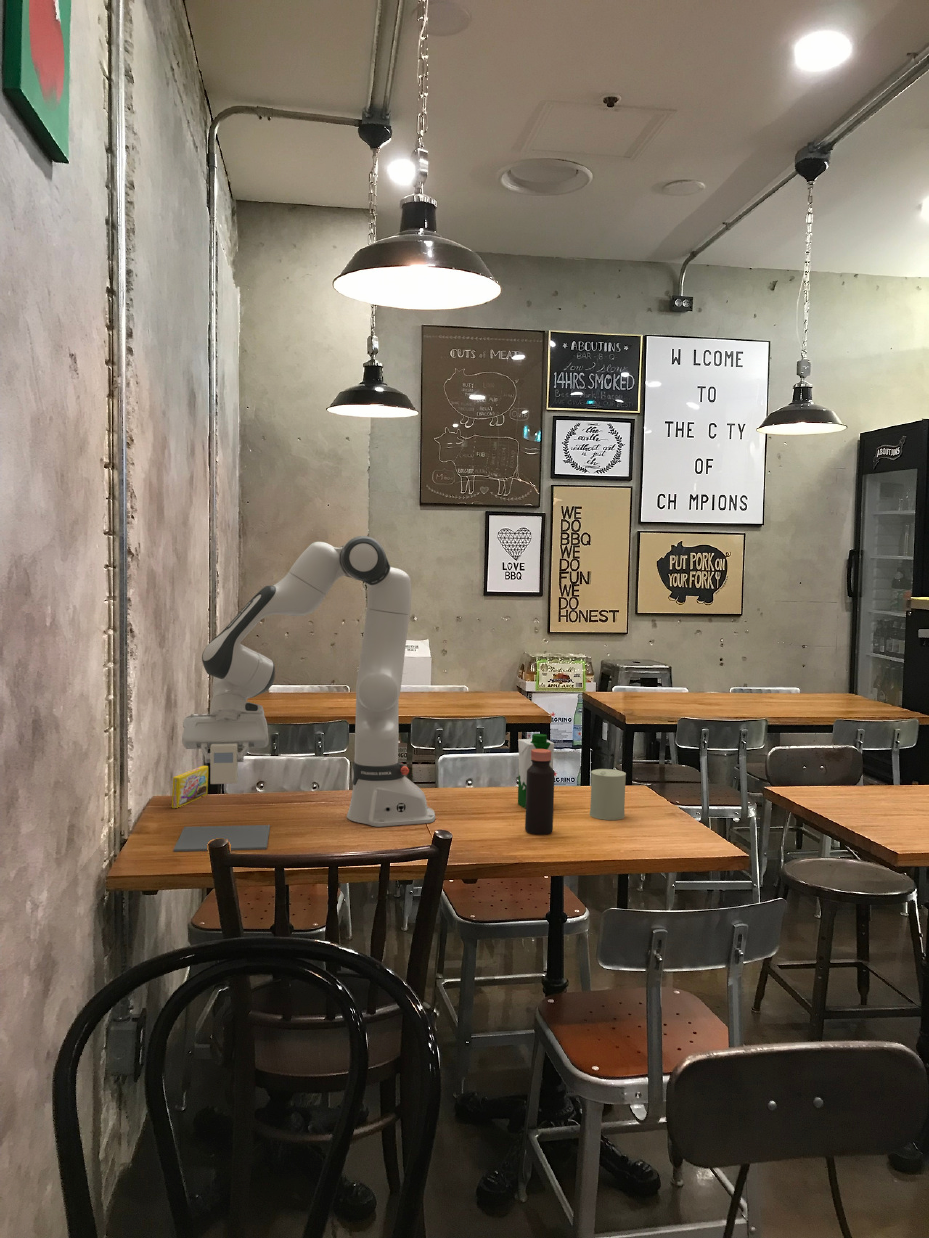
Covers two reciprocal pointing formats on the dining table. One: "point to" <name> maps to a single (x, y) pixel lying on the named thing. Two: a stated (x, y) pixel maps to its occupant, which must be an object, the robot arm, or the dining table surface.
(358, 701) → the robot arm
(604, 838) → the dining table surface
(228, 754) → the card deck
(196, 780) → the candy box
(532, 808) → the bottle
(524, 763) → the milk carton
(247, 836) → the mat
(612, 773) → the can
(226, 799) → the dining table surface
